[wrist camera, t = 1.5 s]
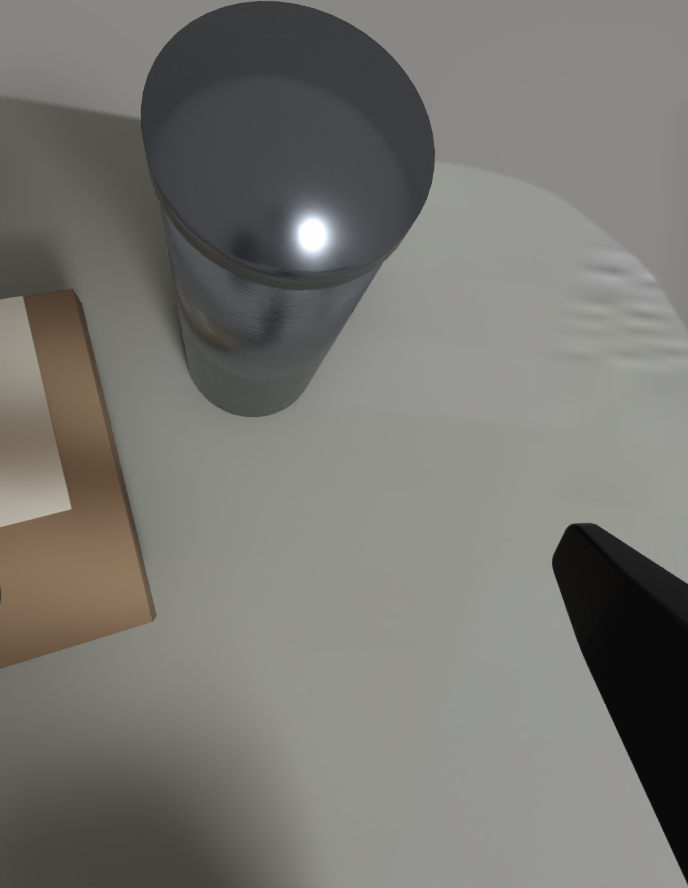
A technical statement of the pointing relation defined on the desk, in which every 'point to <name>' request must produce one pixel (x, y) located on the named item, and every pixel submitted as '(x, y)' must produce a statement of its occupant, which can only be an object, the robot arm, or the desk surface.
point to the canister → (278, 188)
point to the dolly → (60, 489)
